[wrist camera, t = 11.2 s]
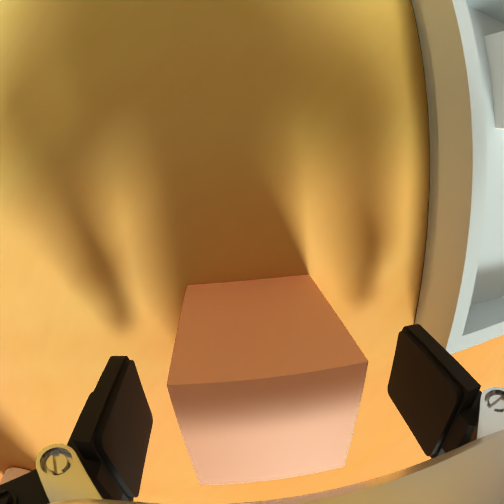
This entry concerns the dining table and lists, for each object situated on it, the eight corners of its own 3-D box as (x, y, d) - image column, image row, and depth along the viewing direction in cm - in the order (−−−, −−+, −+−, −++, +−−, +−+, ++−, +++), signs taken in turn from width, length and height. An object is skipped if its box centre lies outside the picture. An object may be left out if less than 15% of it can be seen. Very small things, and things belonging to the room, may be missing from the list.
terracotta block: (187, 284, 11) (166, 385, 6) (308, 273, 12) (368, 361, 7) (202, 379, 13) (200, 485, 8) (305, 368, 13) (343, 466, 8)
